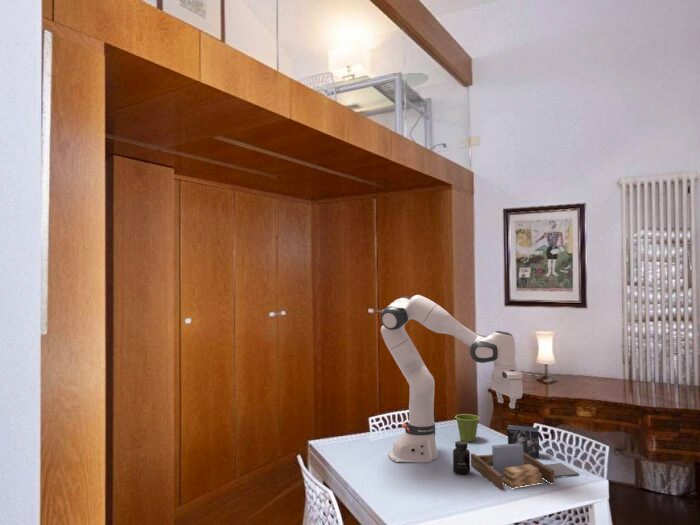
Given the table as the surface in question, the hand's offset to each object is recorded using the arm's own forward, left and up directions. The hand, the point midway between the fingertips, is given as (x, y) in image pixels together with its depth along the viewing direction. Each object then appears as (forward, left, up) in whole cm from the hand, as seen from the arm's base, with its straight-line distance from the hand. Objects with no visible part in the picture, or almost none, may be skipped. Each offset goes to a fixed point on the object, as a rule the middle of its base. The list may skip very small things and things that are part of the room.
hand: (506, 405), depth 204 cm
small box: (+17, +18, -27) cm, 37 cm away
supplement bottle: (-18, +5, -27) cm, 33 cm away
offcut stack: (0, -11, -27) cm, 30 cm away
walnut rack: (0, -2, -27) cm, 27 cm away
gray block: (0, 0, -27) cm, 27 cm away
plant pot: (+2, +44, -27) cm, 52 cm away
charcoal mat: (+19, -3, -27) cm, 33 cm away
